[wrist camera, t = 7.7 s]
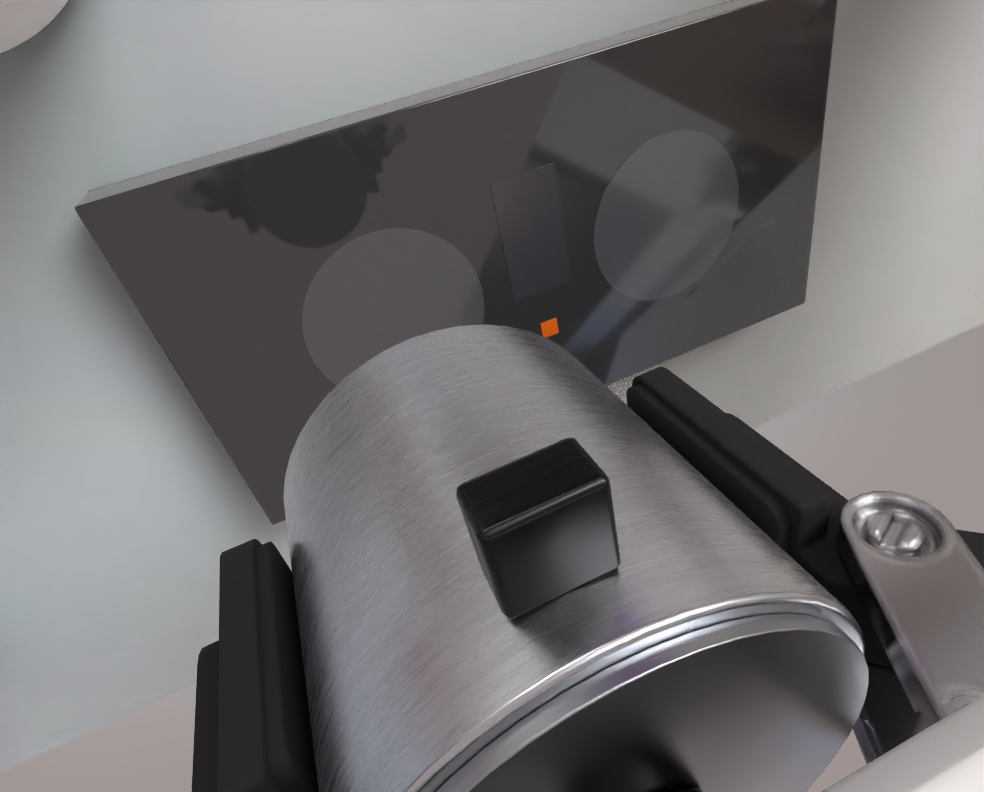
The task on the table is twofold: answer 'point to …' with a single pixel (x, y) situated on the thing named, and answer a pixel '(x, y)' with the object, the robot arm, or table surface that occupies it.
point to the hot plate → (488, 219)
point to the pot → (544, 592)
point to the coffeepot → (25, 19)
